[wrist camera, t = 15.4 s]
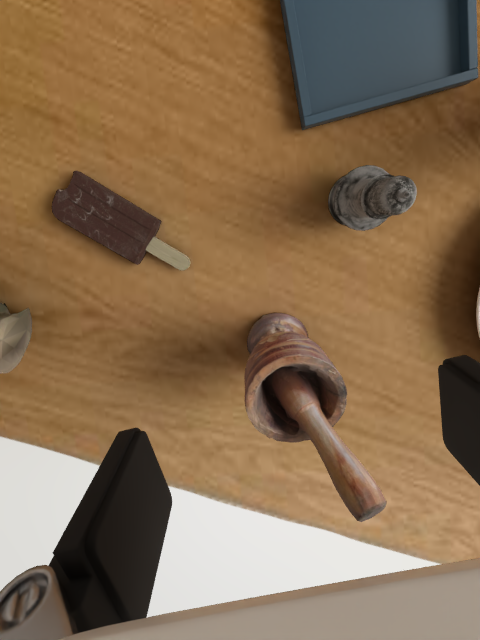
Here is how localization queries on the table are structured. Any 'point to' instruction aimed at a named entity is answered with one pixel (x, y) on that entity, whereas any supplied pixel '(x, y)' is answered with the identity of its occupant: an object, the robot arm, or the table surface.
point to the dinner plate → (478, 312)
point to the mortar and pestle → (304, 404)
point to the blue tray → (376, 53)
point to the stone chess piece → (370, 197)
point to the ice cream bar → (113, 221)
